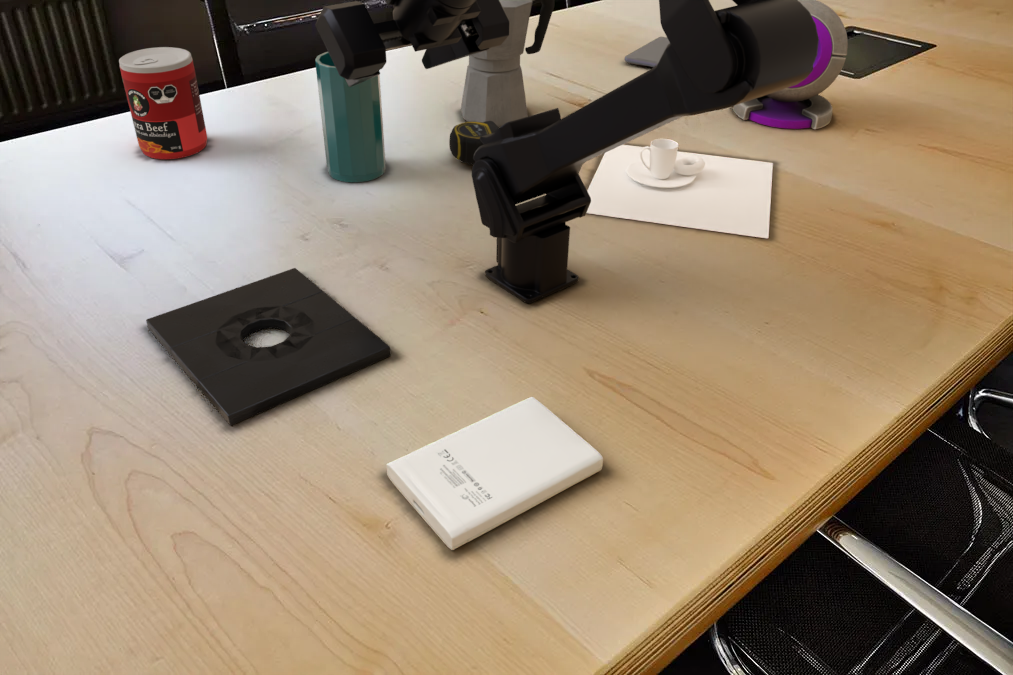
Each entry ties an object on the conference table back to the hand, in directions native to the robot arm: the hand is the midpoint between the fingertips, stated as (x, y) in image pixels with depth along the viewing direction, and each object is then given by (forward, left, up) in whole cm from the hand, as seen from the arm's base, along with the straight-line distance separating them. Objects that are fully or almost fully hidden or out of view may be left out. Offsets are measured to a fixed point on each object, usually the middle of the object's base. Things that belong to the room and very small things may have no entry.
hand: (387, 73), depth 87 cm
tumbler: (+8, 0, -13) cm, 16 cm away
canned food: (+27, +14, -14) cm, 33 cm away
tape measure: (+2, -14, -14) cm, 20 cm away
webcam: (-11, -56, -14) cm, 59 cm away
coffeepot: (+12, -25, -14) cm, 31 cm away
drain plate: (-17, +24, -13) cm, 32 cm away
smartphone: (+16, -62, -13) cm, 65 cm away
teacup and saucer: (-18, -27, -14) cm, 35 cm away
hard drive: (-41, +19, -14) cm, 47 cm away
